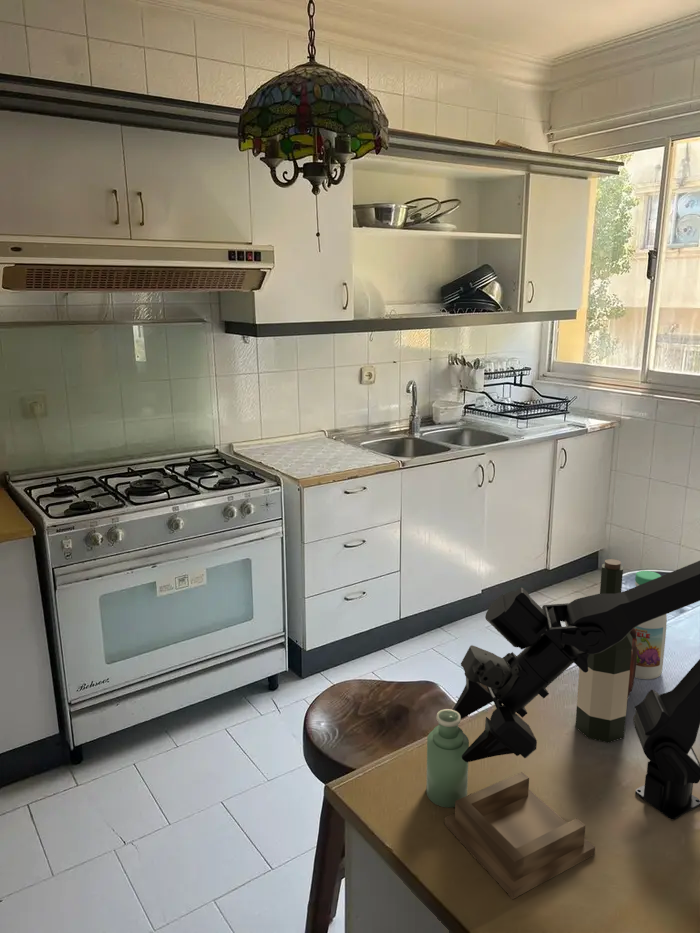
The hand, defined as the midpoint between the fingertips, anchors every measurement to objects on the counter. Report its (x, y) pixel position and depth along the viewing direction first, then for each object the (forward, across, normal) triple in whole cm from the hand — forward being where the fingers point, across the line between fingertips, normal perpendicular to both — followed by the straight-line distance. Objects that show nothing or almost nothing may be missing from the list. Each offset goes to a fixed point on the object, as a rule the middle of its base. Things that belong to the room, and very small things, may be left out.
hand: (456, 739), depth 100 cm
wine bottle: (-13, -14, +26) cm, 32 cm away
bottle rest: (+2, +10, +11) cm, 15 cm away
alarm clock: (-18, -22, +31) cm, 42 cm away
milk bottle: (-24, -30, +37) cm, 53 cm away
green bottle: (+7, 0, +5) cm, 9 cm away
